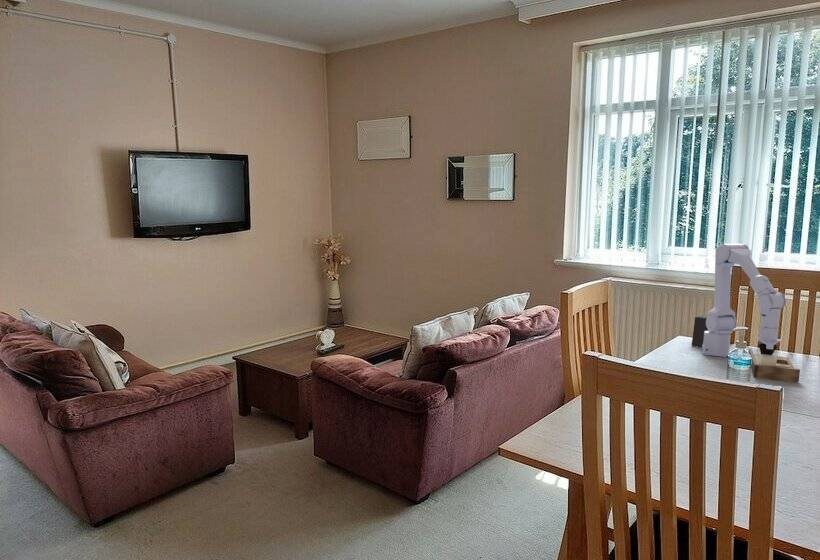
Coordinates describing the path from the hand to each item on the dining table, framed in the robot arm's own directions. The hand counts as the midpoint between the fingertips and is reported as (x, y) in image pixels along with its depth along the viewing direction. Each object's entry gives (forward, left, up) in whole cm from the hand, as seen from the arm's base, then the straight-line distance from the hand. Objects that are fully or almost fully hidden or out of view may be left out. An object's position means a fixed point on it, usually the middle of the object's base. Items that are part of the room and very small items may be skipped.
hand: (765, 363), depth 203 cm
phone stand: (-20, +30, -3) cm, 36 cm away
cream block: (0, -3, -1) cm, 3 cm away
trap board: (+3, +5, -3) cm, 6 cm away
